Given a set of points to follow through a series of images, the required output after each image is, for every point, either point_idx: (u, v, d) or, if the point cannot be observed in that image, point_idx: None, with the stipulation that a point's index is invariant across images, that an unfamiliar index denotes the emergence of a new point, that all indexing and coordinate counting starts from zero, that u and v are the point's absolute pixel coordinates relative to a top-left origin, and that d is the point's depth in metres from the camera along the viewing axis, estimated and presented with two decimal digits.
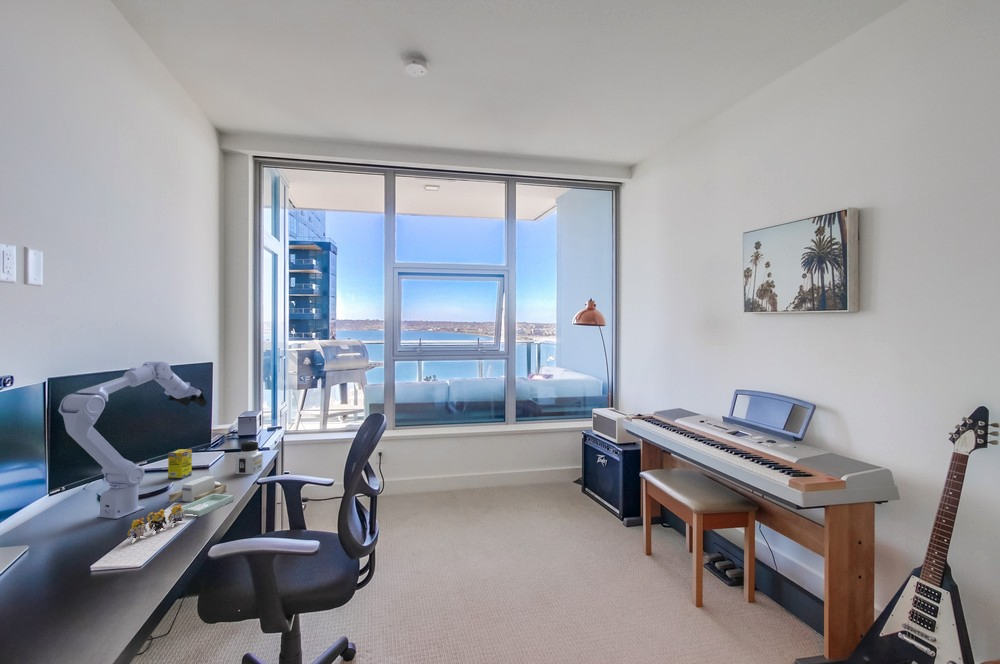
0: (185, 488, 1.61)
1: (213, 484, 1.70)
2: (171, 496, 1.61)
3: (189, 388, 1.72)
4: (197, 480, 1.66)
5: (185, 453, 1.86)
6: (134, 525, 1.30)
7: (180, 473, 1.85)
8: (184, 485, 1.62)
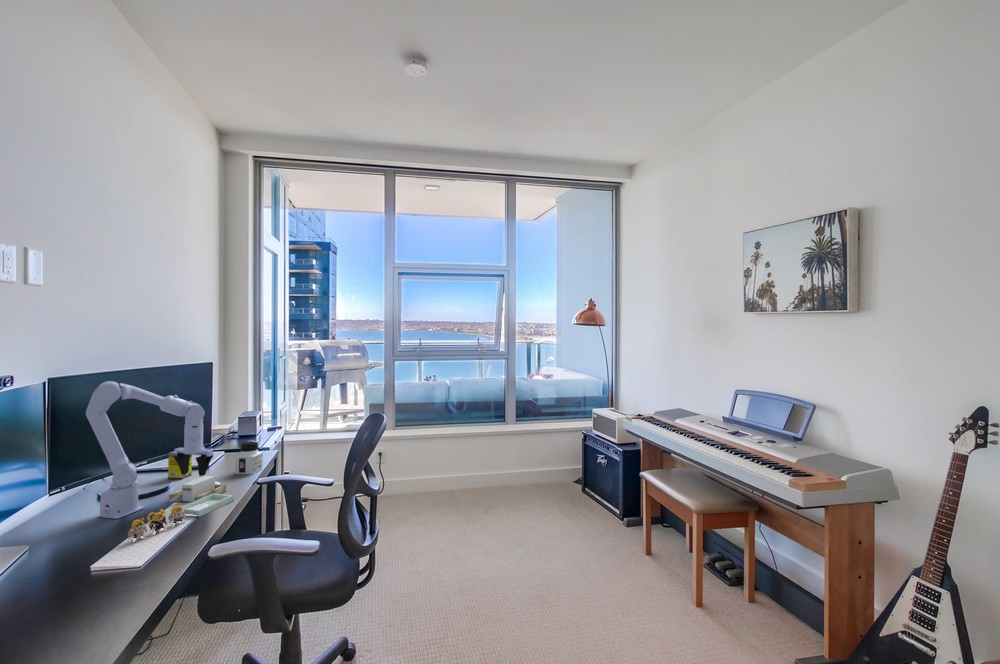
0: (185, 488, 1.61)
1: (213, 484, 1.70)
2: (171, 496, 1.61)
3: (203, 449, 1.65)
4: (197, 480, 1.66)
5: None
6: (134, 525, 1.30)
7: (180, 473, 1.85)
8: (184, 485, 1.62)
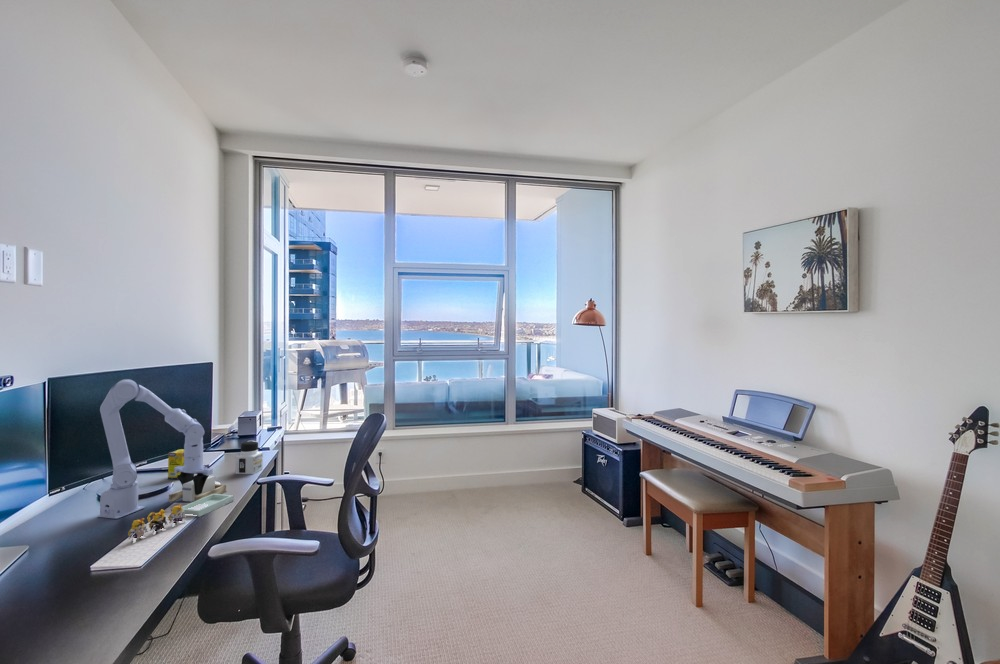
0: (185, 488, 1.61)
1: (213, 484, 1.70)
2: (171, 496, 1.61)
3: (202, 468, 1.64)
4: None
5: None
6: (134, 525, 1.30)
7: (180, 473, 1.85)
8: (184, 484, 1.62)
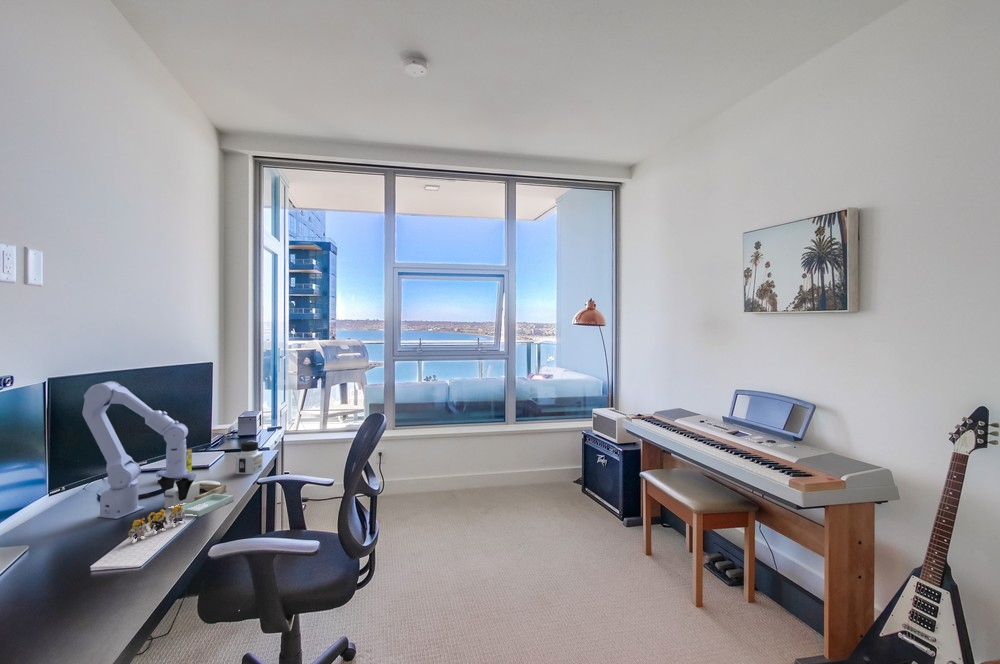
0: (167, 495, 1.54)
1: (197, 490, 1.63)
2: None
3: (186, 472, 1.58)
4: None
5: None
6: (135, 525, 1.30)
7: None
8: (166, 491, 1.55)
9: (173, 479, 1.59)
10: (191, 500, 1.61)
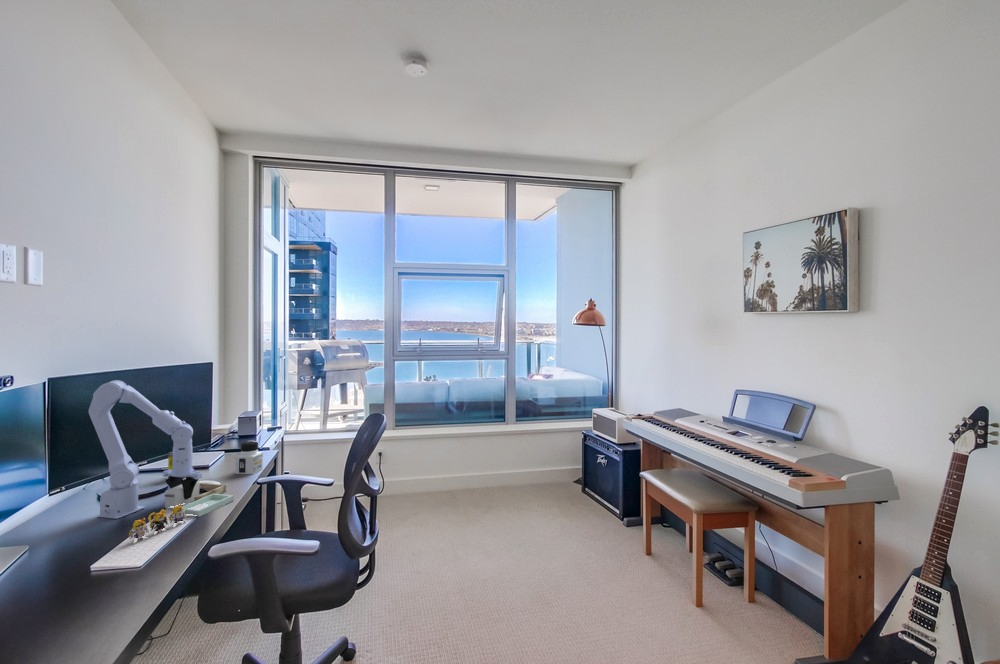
0: (168, 494, 1.54)
1: (197, 490, 1.64)
2: None
3: (192, 471, 1.60)
4: (180, 486, 1.59)
5: None
6: (136, 525, 1.30)
7: None
8: (167, 491, 1.55)
9: (181, 478, 1.61)
10: (191, 499, 1.61)
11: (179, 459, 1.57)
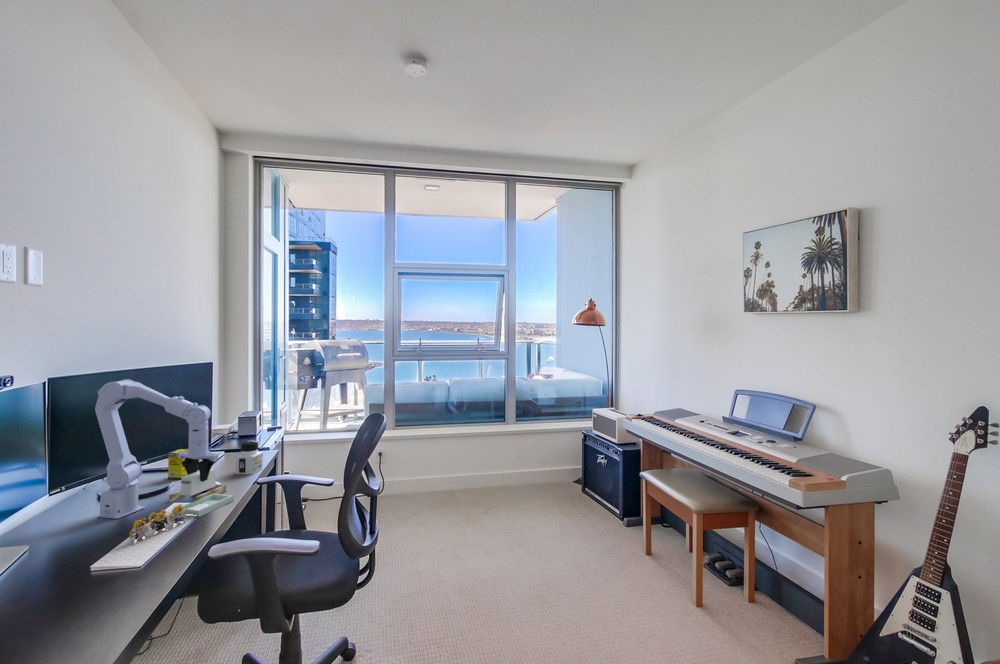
0: (184, 481, 1.52)
1: (214, 477, 1.61)
2: (171, 496, 1.61)
3: (208, 453, 1.58)
4: (197, 473, 1.57)
5: None
6: (136, 525, 1.30)
7: (180, 473, 1.85)
8: (183, 477, 1.53)
9: (197, 461, 1.59)
10: (207, 487, 1.58)
11: (193, 441, 1.54)
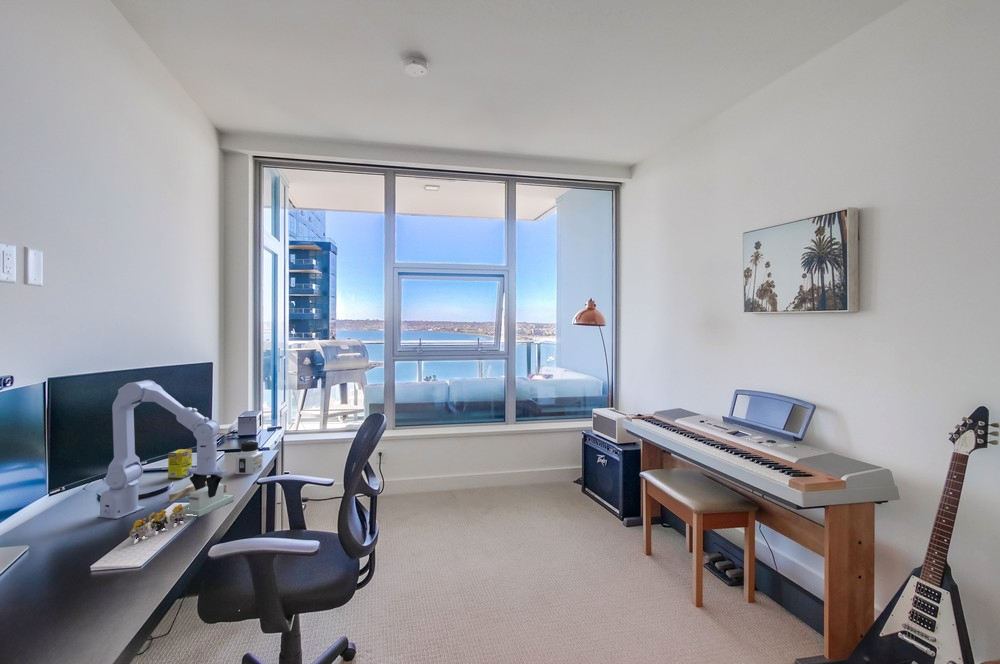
0: (192, 497, 1.51)
1: (222, 492, 1.60)
2: (171, 496, 1.61)
3: (216, 469, 1.56)
4: (205, 488, 1.56)
5: (185, 453, 1.87)
6: (136, 525, 1.30)
7: (180, 473, 1.85)
8: (191, 494, 1.51)
9: (205, 476, 1.58)
10: None
11: (200, 456, 1.53)
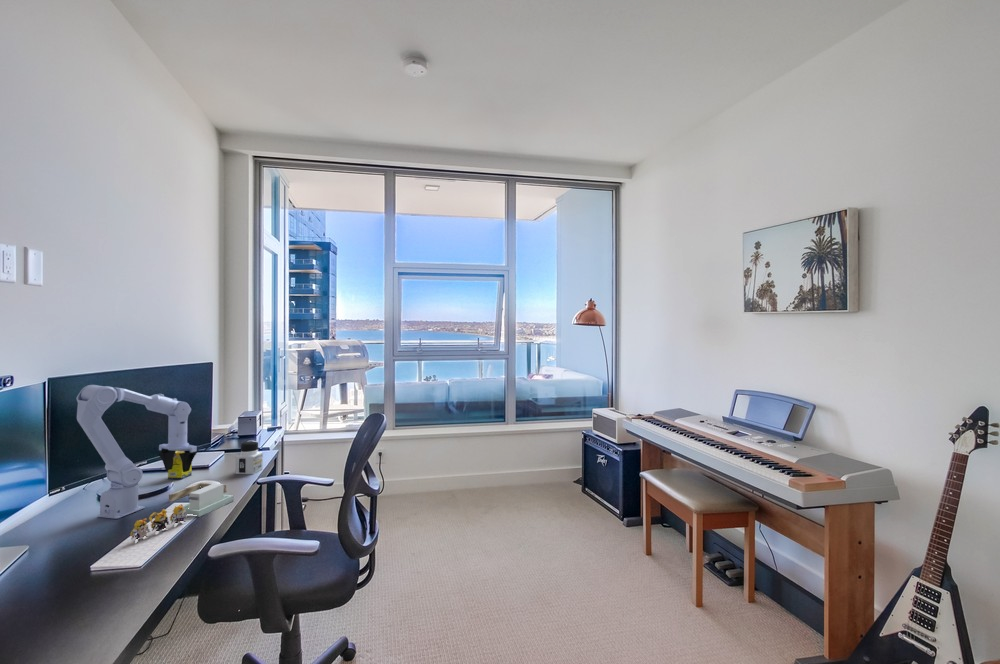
0: (192, 497, 1.51)
1: (222, 492, 1.60)
2: (171, 496, 1.61)
3: (187, 445, 1.67)
4: (205, 488, 1.56)
5: None
6: (137, 525, 1.30)
7: (180, 473, 1.85)
8: (191, 494, 1.51)
9: (173, 452, 1.69)
10: None
11: (180, 432, 1.65)
